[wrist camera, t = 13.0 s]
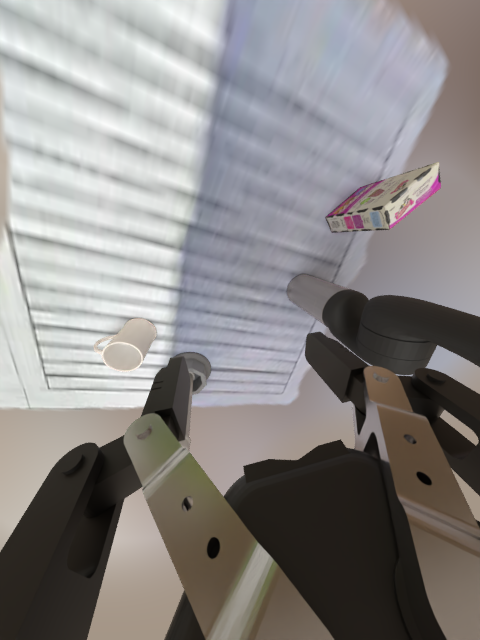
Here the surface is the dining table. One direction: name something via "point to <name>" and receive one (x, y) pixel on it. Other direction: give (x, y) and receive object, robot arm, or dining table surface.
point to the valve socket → (197, 369)
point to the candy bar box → (385, 201)
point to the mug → (128, 345)
